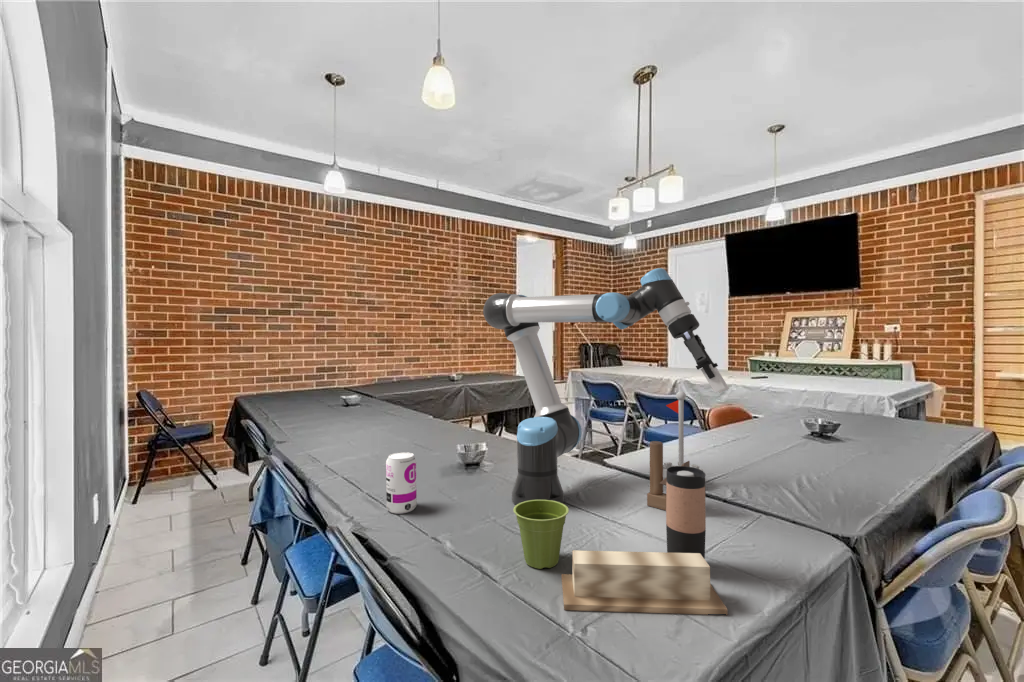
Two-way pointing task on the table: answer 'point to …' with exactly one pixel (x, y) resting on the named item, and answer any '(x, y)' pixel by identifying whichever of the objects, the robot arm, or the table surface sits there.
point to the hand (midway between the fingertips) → (722, 390)
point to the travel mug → (685, 510)
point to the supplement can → (401, 482)
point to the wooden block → (657, 476)
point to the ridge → (640, 583)
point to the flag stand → (679, 408)
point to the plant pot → (541, 531)
